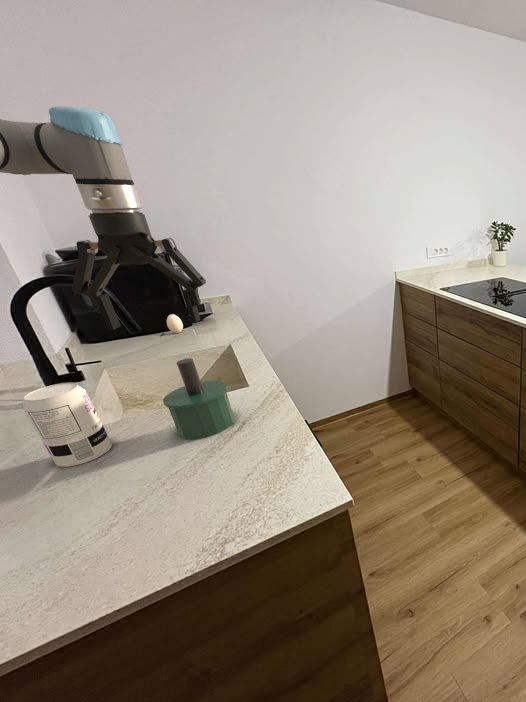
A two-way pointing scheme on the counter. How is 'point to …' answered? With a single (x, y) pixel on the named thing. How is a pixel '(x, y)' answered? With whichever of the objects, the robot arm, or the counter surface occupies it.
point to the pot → (203, 418)
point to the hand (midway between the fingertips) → (156, 324)
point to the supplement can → (67, 423)
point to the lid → (193, 388)
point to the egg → (174, 323)
